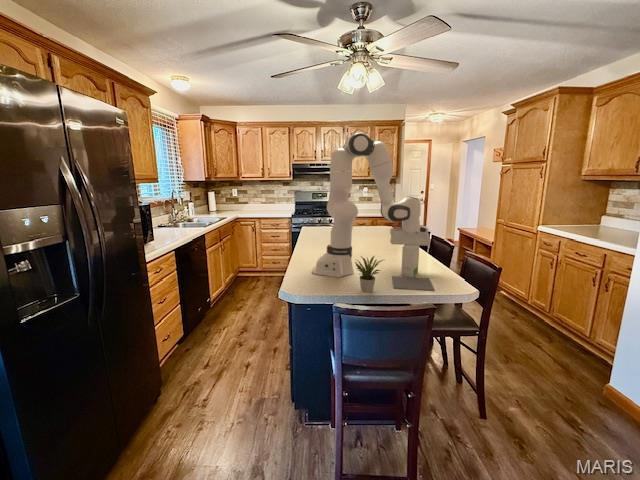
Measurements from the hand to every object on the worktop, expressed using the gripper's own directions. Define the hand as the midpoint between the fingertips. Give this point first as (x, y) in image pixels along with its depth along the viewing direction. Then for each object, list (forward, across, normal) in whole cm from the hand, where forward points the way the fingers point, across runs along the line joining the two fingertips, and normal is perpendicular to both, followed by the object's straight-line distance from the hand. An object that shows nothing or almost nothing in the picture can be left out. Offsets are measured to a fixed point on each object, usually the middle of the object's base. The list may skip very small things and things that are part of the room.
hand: (408, 252), depth 162 cm
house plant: (+10, -20, -32) cm, 39 cm away
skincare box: (+10, 0, -7) cm, 13 cm away
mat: (+10, 0, -20) cm, 23 cm away
